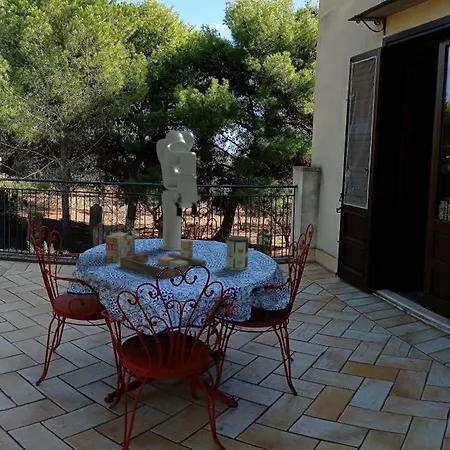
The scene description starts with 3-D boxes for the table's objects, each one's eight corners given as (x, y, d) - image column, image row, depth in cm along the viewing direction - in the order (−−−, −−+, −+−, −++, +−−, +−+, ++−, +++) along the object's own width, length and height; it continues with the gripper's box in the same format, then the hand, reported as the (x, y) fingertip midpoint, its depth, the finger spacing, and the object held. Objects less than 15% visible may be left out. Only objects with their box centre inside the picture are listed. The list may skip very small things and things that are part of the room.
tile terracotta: (167, 262, 239) (167, 256, 239) (175, 264, 235) (176, 258, 235) (157, 264, 235) (157, 258, 234) (166, 266, 231) (166, 260, 230)
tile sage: (178, 265, 234) (178, 259, 234) (188, 267, 230) (188, 261, 230) (169, 267, 229) (169, 261, 229) (179, 270, 226) (179, 263, 225)
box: (145, 261, 238) (146, 253, 238) (188, 272, 220) (188, 264, 220) (120, 266, 227) (120, 257, 226) (163, 279, 209) (163, 269, 208)
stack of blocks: (123, 253, 255) (123, 229, 253) (135, 253, 254) (135, 230, 252) (105, 262, 234) (105, 236, 233) (118, 263, 233) (118, 237, 231)
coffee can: (237, 263, 241) (238, 235, 239) (252, 268, 233) (253, 238, 231) (221, 266, 234) (222, 237, 232) (236, 271, 226) (237, 240, 224)
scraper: (173, 258, 248) (173, 236, 246) (206, 266, 234) (207, 243, 232) (167, 259, 245) (167, 237, 243) (200, 268, 231) (201, 244, 229)
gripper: (194, 178, 242) (193, 213, 244) (168, 178, 229) (167, 215, 231) (206, 179, 237) (205, 214, 240) (179, 179, 224) (178, 217, 227)
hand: (186, 215), depth 236 cm, fingers open, 9 cm apart
